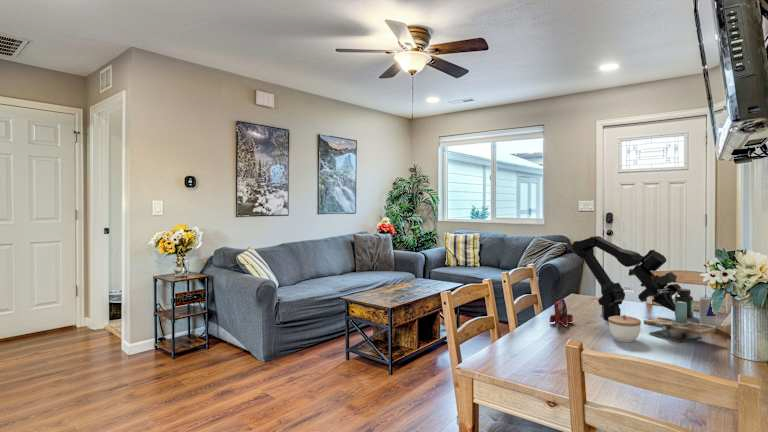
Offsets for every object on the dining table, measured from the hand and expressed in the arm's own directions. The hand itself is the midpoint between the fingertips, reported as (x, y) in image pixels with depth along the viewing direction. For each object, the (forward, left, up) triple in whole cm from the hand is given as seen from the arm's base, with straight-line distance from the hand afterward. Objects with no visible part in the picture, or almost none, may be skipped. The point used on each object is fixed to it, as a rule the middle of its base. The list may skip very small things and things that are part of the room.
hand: (675, 310), depth 163 cm
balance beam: (+1, -1, -6) cm, 6 cm away
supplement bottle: (+16, +29, -10) cm, 34 cm away
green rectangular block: (+1, -2, -5) cm, 5 cm away
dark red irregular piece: (-39, +13, -10) cm, 42 cm away
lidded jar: (-20, -6, -10) cm, 23 cm away
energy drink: (+17, +12, -10) cm, 23 cm away
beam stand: (0, 0, -10) cm, 10 cm away
